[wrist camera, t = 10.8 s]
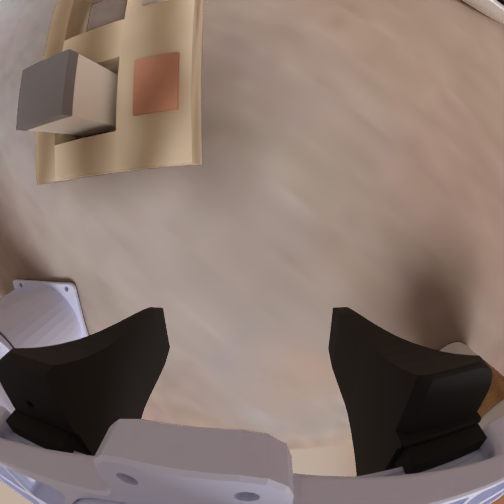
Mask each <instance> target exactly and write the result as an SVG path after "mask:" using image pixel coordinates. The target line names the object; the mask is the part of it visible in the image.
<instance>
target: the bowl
mask: <svg viewBox="0 0 504 504" xmlns="http://www.w3.org/2000/svg"><path fill="white" fill-rule="evenodd" d="M462 1H463V2H465V3H467V4H468V5H470V6H471V7H473V8H475V9H476V10H478V11H479V12H481V13H483V14H485V15H486V16H488V17H490V18H492V19H494V20H496V21H498V22H500V23H502V24H504V0H462Z"/></svg>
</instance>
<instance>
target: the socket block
mask: <svg viewBox="0 0 504 504" xmlns="http://www.w3.org/2000/svg"><path fill="white" fill-rule="evenodd" d="M99 1H102V0H57V3H56V7H55V10H54V14H53V17H52V21H51V25H50V29H49V33H48V38H47V42H46V47H45V52H44V58H43V60H45V59H47V58H49V57H52V56H54V55H56V54H58V53H61V52H63V51H66V50H68V49H71V50H73V51H75V52H77V53H78V54H80V55H82V56H84V57H86V58H88V59H90V60H92V61H94V62H95V63H97V64H99V65H101V66H103V67H104V68H106V69H108V70H110V71H112V72H113V73H118V83H117V102H116V131H114V132H109V133H104V134H99V135H94V136H90V137H86V138H81V139H77V140H76V135H70V134H61V133H50V132H39V131H36V179H37V185H39V184H46V183H54V182H61V181H66V180H72V179H77V178H83V177H90V176H96V175H103V174H110V173H117V172H125V171H133V170H142V169H151V168H162V167H173V166H185V165H199V164H202V122H201V67H202V26H203V3H204V0H128V1H127V6H126V12H125V18H124V19H122V20H119V21H116V22H113V23H110V24H107V25H104V26H101V27H98V28H95V29H92V30H90V31H87V32H86V30H87V25H88V20H89V15H90V11H91V6H92V4H94V3H97V2H99Z"/></svg>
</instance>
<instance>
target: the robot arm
mask: <svg viewBox="0 0 504 504" xmlns="http://www.w3.org/2000/svg"><path fill="white" fill-rule="evenodd" d="M13 286H14V290H13V291H11V292H10V293H8V294H7V295H5V296H3V297H2V298H0V481H2V482H3V483H4V484H6V485H7V486H9V487H10V488H11V489H13V490H14V491H16V492H17V493H19V494H20V495H22V496H23V497H24V498H26V499H27V500H29V501H30V502H32V503H34V504H490V503H492V502H493V501H495V500H497V499H498V498H500V497H501V496H502V495H503V494H504V416H503V417H501V418H499V419H497V420H495V421H493V422H490V423H489V424H487V425H486V426H485V427H484V428H483V429H481V427H480V426H479V424H478V423H479V422H480V421H481V416H480V415H479V413H478V412H477V411H478V410H479V408H480V406H481V404H482V402H483V400H484V399H485V397H486V395H487V393H488V391H489V388H490V386H491V382H492V376H493V374H492V369H491V368H490V367H489V366H488V365H487V364H486V363H485V361H484V360H483V359H482V358H481V357H480V356H478V355H464V354H454V353H448V352H443V351H438V350H434V349H430V348H427V347H423V346H420V345H417V344H414V343H411V342H409V341H407V340H404V339H402V338H399V337H397V336H395V335H393V334H391V333H389V332H388V331H386V330H384V329H382V328H380V327H379V326H377V325H375V324H374V323H372V322H370V321H369V320H367V319H366V318H364V317H363V316H361V315H360V314H358V313H356V312H355V311H353V310H351V309H350V308H348V307H341V308H333V314H332V323H331V332H330V340H329V354H330V359H331V364H332V368H333V371H334V374H335V377H336V380H337V383H338V385H339V388H340V391H341V394H342V397H343V400H344V403H345V406H346V409H347V413H348V417H349V422H350V428H351V433H352V440H353V446H354V453H355V461H356V472H357V476H356V477H337V476H336V477H335V476H317V475H304V474H293V472H292V457H291V454H290V451H289V449H288V446H287V444H286V443H284V442H282V441H280V440H278V439H276V438H274V437H273V436H271V435H269V434H267V433H261V432H255V431H249V430H240V429H219V428H205V427H194V426H185V425H177V424H169V423H162V422H156V421H149V420H144V419H141V417H142V414H143V411H144V408H145V405H146V403H147V401H148V399H149V396H150V394H151V392H152V390H153V388H154V386H155V384H156V382H157V380H158V378H159V376H160V374H161V371H162V369H163V367H164V365H165V362H166V359H167V355H168V352H169V348H170V346H169V341H168V335H167V330H166V324H165V318H164V312H163V308H154V307H150V308H147V309H144V310H142V311H140V312H138V313H136V314H134V315H132V316H130V317H128V318H126V319H124V320H122V321H121V322H119V323H117V324H115V325H112V326H110V327H108V328H106V329H104V330H102V331H100V332H97V333H95V334H92V335H88V332H87V329H86V325H85V322H84V318H83V314H82V310H81V306H80V302H79V298H78V294H77V290H76V286H75V285H74V284H73V283H68V282H50V281H35V280H21V279H15V280H14V281H13ZM67 288H68V289H67Z"/></svg>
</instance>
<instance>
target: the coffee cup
mask: <svg viewBox="0 0 504 504" xmlns="http://www.w3.org/2000/svg"><path fill="white" fill-rule="evenodd" d="M439 351H443V352H448V353H454V354H464V355H477V354H476V353H474V352H473V351H472V350H471V349H470V348H469V347H467V346H466V345H465V344H463V343H460V342H454V343H451V344H448V345H446V346H445V347H443V348H442V349H440V350H439ZM485 363H486V364H487V365H488V366H489V367H490V368H491V369H492V374H493V376H492V382H491V386H490V388H489V391H488V393H487V395H486V397H485V399H484V400H483V402H482V404H481V406H480V408H479V410H478V411H477V412H478V413H479V415H480V416H481V421H480V422H479V423H478V424H479V426H480V427H481V429H483V428H484V427H485V426H486V425H487V424H489V423H490V422H493V421H495V420H497V419H499V418H501V417H503V416H504V376H502V375H501V374H500V373H499V372H498V371H496V370H495V369H494V368H493V367H492V366H490V365H489V364H488V363H487V362H486V361H485Z"/></svg>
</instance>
